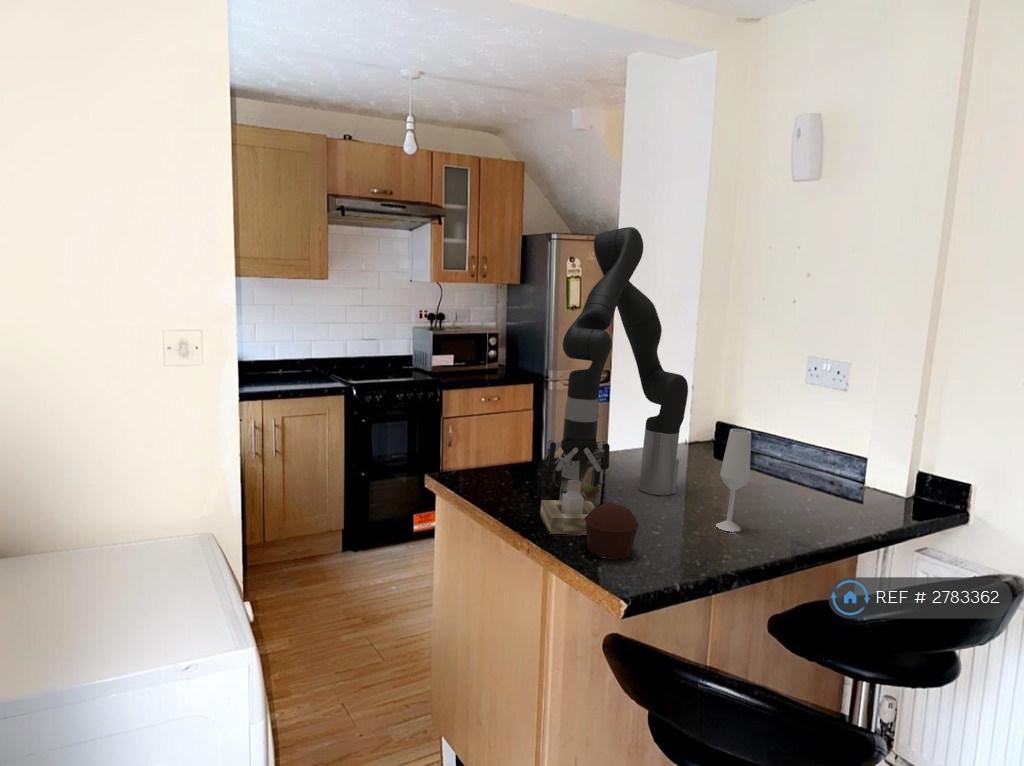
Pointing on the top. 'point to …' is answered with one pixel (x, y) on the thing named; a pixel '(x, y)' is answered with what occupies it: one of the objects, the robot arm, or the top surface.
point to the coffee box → (583, 478)
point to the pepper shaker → (572, 498)
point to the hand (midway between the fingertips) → (575, 485)
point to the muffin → (611, 530)
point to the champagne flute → (735, 470)
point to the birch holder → (564, 518)
